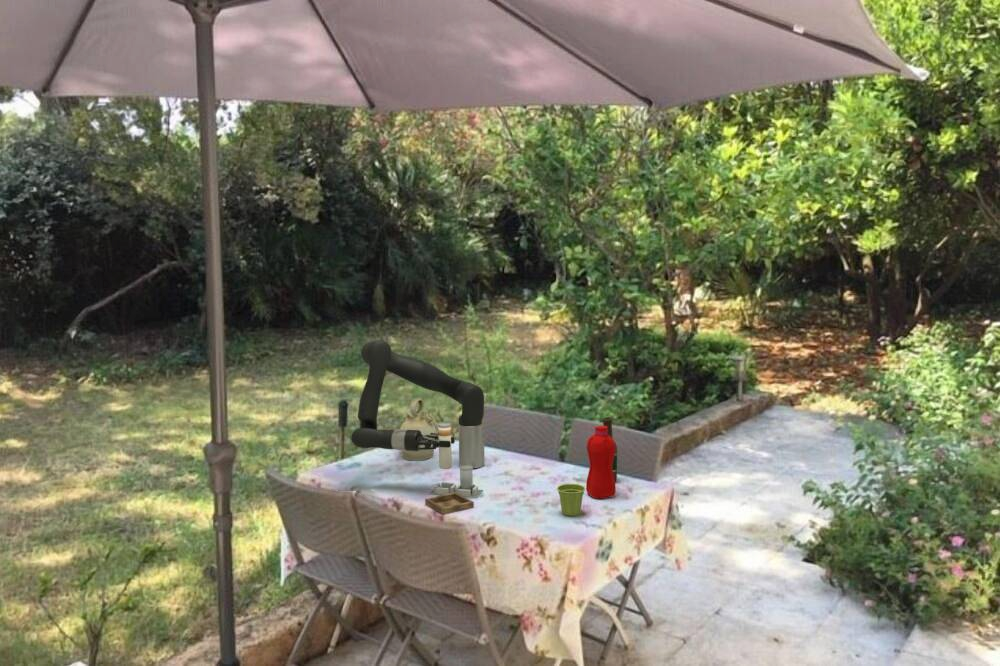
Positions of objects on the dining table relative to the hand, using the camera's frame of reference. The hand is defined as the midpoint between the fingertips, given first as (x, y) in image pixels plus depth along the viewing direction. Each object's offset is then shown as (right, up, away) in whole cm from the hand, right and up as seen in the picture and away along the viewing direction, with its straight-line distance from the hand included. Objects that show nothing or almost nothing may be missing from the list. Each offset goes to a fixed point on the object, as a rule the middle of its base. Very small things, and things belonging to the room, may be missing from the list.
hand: (452, 442), depth 288 cm
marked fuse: (-2, -9, +2) cm, 10 cm away
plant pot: (+40, -21, -17) cm, 49 cm away
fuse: (+5, -18, +1) cm, 19 cm away
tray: (0, -21, -12) cm, 24 cm away
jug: (-17, -13, +50) cm, 54 cm away
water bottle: (+52, -19, +1) cm, 55 cm away
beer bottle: (+57, -17, +16) cm, 61 cm away
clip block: (+1, -19, +2) cm, 19 cm away
